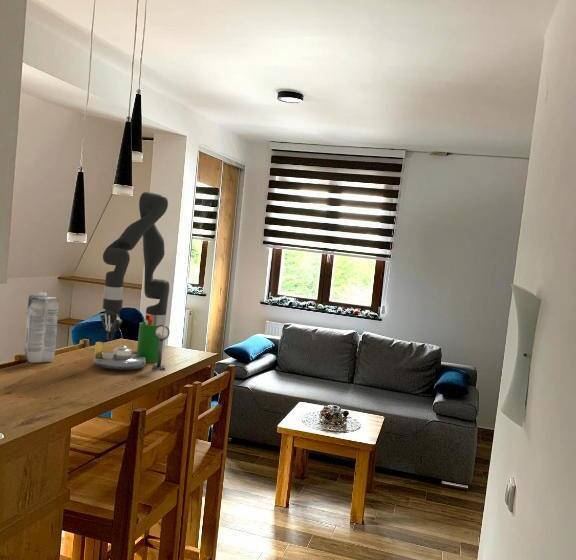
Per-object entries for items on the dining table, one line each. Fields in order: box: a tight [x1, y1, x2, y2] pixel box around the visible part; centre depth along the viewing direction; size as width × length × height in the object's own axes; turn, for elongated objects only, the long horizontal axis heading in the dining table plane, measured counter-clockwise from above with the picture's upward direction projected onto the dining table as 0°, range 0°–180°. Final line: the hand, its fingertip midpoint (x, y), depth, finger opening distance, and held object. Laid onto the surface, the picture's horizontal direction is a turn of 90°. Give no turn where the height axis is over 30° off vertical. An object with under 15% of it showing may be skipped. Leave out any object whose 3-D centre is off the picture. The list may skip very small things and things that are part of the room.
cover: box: [113, 345, 133, 360], centre depth 249 cm, size 7×7×5 cm
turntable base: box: [107, 368, 129, 371], centre depth 249 cm, size 10×10×1 cm
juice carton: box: [24, 292, 59, 364], centre depth 246 cm, size 9×10×27 cm
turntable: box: [93, 341, 147, 370], centre depth 249 cm, size 20×20×8 cm
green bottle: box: [136, 314, 159, 363], centre depth 267 cm, size 10×9×20 cm
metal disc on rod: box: [151, 324, 171, 371], centre depth 254 cm, size 5×6×18 cm
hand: (109, 340), depth 252 cm, fingers closed
